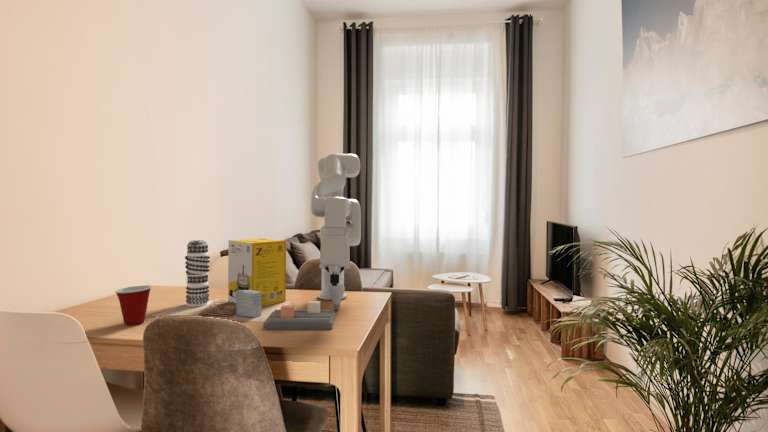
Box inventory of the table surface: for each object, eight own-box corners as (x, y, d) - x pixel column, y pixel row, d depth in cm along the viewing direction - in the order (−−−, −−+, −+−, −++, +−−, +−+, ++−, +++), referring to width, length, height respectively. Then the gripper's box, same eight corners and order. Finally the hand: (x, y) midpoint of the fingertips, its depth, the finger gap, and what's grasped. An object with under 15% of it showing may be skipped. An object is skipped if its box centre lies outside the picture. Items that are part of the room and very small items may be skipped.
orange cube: (282, 317, 153) (282, 305, 153) (294, 317, 154) (294, 305, 153) (280, 319, 150) (280, 307, 150) (292, 319, 150) (293, 307, 150)
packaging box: (228, 301, 186) (228, 240, 185) (262, 295, 198) (262, 238, 197) (251, 308, 175) (251, 243, 174) (285, 301, 187) (286, 240, 187)
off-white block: (308, 312, 161) (308, 300, 161) (320, 312, 161) (320, 301, 161) (307, 314, 158) (307, 302, 158) (319, 314, 158) (319, 302, 158)
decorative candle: (189, 308, 174) (189, 242, 173) (181, 303, 181) (181, 240, 180) (213, 304, 180) (213, 241, 179) (205, 300, 187) (205, 239, 186)
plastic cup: (127, 318, 158) (127, 283, 157) (158, 319, 157) (158, 284, 157) (107, 327, 147) (106, 290, 146) (140, 328, 146) (140, 290, 146)
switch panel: (272, 317, 163) (272, 308, 163) (334, 317, 164) (334, 308, 164) (263, 329, 148) (263, 319, 148) (332, 329, 149) (332, 320, 149)
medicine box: (261, 315, 165) (261, 291, 165) (253, 318, 161) (253, 293, 161) (244, 312, 168) (244, 289, 168) (235, 315, 164) (235, 291, 164)
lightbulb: (341, 312, 171) (342, 283, 170) (326, 311, 172) (326, 282, 171) (346, 308, 177) (346, 280, 176) (331, 307, 178) (331, 279, 177)
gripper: (357, 232, 163) (356, 284, 163) (314, 231, 162) (314, 283, 162) (356, 233, 155) (356, 287, 155) (312, 232, 154) (311, 287, 155)
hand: (334, 285), depth 159 cm, fingers closed
